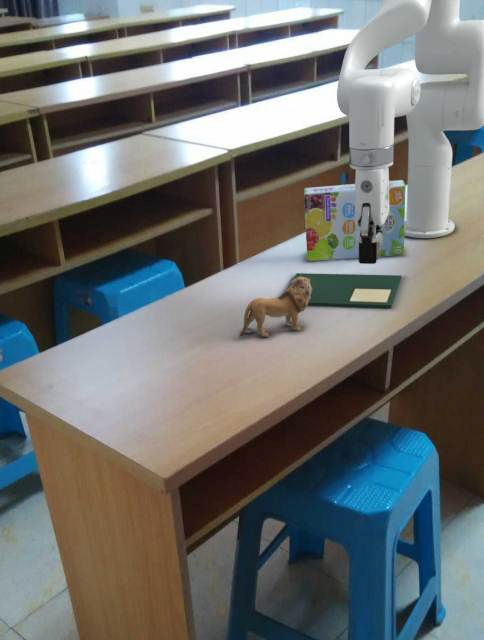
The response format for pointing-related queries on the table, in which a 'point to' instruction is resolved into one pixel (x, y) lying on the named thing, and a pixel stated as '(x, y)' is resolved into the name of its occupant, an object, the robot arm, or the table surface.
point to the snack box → (348, 222)
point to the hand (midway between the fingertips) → (370, 256)
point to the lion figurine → (279, 306)
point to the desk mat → (352, 289)
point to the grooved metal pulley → (379, 243)
